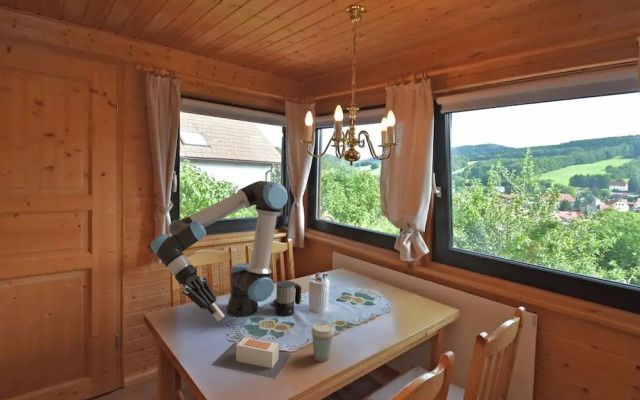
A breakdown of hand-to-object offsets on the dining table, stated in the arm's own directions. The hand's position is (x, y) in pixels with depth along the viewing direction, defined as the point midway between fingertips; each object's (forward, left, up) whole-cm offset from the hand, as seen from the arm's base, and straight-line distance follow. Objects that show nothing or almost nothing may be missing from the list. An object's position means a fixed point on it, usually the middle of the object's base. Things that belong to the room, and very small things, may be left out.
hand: (221, 318), depth 126 cm
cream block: (-4, +7, -10) cm, 13 cm away
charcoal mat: (-7, +11, -14) cm, 19 cm away
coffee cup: (-28, +26, -14) cm, 41 cm away
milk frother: (-43, -17, -14) cm, 49 cm away
